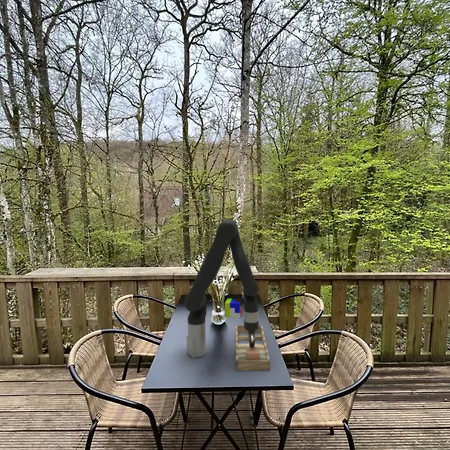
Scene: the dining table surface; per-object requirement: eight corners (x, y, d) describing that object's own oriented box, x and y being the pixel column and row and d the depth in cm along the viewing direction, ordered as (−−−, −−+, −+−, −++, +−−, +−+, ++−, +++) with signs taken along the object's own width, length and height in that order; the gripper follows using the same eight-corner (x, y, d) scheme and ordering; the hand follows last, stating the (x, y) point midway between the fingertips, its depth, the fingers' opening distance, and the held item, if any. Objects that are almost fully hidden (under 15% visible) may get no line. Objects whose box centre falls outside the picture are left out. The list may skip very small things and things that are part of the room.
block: (259, 363, 141) (259, 353, 141) (247, 363, 141) (247, 353, 141) (258, 356, 147) (258, 347, 147) (246, 356, 147) (246, 347, 147)
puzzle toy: (239, 318, 202) (239, 303, 201) (225, 317, 204) (224, 303, 203) (241, 312, 211) (241, 298, 210) (227, 311, 213) (227, 298, 212)
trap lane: (269, 370, 139) (269, 361, 139) (236, 370, 140) (235, 361, 139) (262, 332, 179) (262, 325, 178) (235, 332, 179) (235, 325, 179)
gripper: (259, 324, 142) (260, 359, 143) (257, 313, 155) (258, 345, 157) (244, 324, 142) (245, 359, 144) (243, 314, 155) (244, 345, 157)
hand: (251, 352), depth 150 cm, fingers closed
